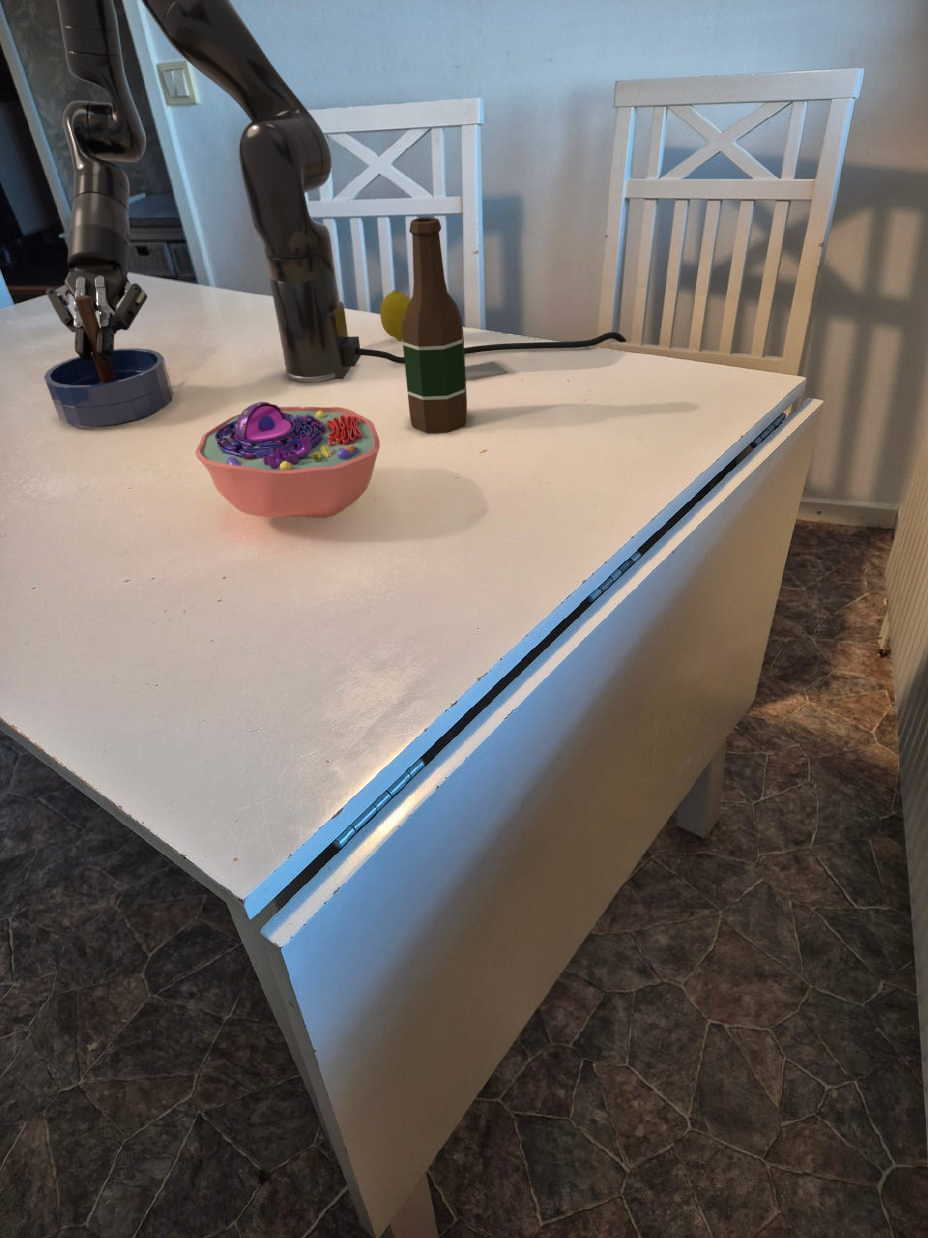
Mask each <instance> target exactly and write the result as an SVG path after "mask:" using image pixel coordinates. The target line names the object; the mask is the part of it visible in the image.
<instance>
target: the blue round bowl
mask: <svg viewBox="0 0 928 1238" xmlns="http://www.w3.org/2000/svg"><path fill="white" fill-rule="evenodd" d="M110 361H111V365H112V368H113V371H114V374H115V377H116V380H118V381H113V382H108V383H102V384H98V383H101V380H100V377H99V374H98V371H97V368H96V365H95V362H94V358H93V355H92V352H91V360H90V361H84V360H83V359H82V358H81V357H80V356H79V355H78V356H75V357H71V358H69V359H67V360H64V361H62V362H60V363H57V364H55V365H54V366H52V367H51V368H50V369H47V371H46V373H45V374H44V376H43V378H44V382H45V384H46V387H47V390H48V393H49V395H50V398H51V400H52V403H53V407H54V408H55V412H56V414H57V417H58V418H59V420H60V421H61V422H63V423H65V424H67V425H72V426H77V427H84V428H109V427H117V426H122V425H126V424H130V423H135V422H137V421H140V420H143V419H146V418H149V417H151V416H153V415H155V414H157V413H158V412H160V411H161V410H163V409H164V408H166V407H167V406H168V405H169V404H171V402H172V401H173V399H174V394H175V393H174V389H173V386H172V383H171V379H170V374H169V371H168V368H167V364H166V361H165V357H164V356H163V355H162V354H161V352H159V351H155V350H152V349H148V348H140V347H139V348H137V347H136V348H135V347H134V348H131V347H129V348H114V352H113V355H111V356H110ZM119 379H120V380H119Z"/></svg>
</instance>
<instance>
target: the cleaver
mask: <svg viewBox="0 0 928 1238" xmlns="http://www.w3.org/2000/svg"><path fill="white" fill-rule="evenodd" d="M509 373H510V372H509V371H508V370H506V369H505V368H503V367H502V366H501V365H499V364H498V363H496V362H494V361H491V362H485V363H479V364H473V365H467V366H465V374H466V380H467V379H474V378H480V377H481V378H482V377H489V376H495V375H502V374H509Z"/></svg>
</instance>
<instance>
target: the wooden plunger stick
mask: <svg viewBox="0 0 928 1238" xmlns="http://www.w3.org/2000/svg"><path fill="white" fill-rule="evenodd" d="M73 299H74V302H75V303H76V306H77V309H78V312H79V315H80V318H81V321H82V324H83V327H84V331H85V334H86V337H87V340H88V343H89V346H90V349H91V353H92V355H93V358H94V362H95V365H96V368H97V371H98V374H99V377H100V380H101V383H98V384H102V383H108V382H113V381H118V380H116V377H115V374H114V371H113V368H112V365H111V361H110V359H109V360H103V359H102V358H101V357H100V356H99V355H98V354H97V338H98V328H101V325H100V322H99V320H98V317H97V312H96V313H95V310H94V307H93V303H92V300H91V297H90V296H88V295H84V296H78V297H76V298H74V297H73ZM119 380H120V379H119Z"/></svg>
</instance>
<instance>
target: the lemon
mask: <svg viewBox="0 0 928 1238" xmlns="http://www.w3.org/2000/svg"><path fill="white" fill-rule="evenodd" d="M410 300H411V298H409V296H408V295H406V294H405V293H403V292H401V291H398V290H397V289H394V290H391V292H390V293H388V294H387V295H386V296H385V297H384V298H383V300H382V301H381V305H380V311H379V312H380V313H379V314H380V315H379V316H380V323H381V326H382V328H383V330H384V331H385V333H386V334H388V335H389V336H390V337H393V338H395V339H396V340H397V341H399V342H401V341H403V334H402V326H403V321H404V317H405V312H406V309H407V306H408V304H409V302H410Z"/></svg>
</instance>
